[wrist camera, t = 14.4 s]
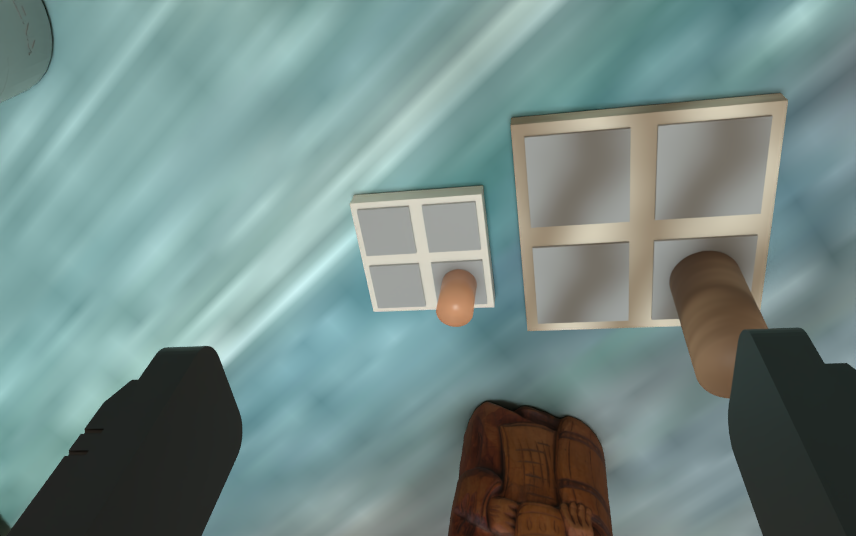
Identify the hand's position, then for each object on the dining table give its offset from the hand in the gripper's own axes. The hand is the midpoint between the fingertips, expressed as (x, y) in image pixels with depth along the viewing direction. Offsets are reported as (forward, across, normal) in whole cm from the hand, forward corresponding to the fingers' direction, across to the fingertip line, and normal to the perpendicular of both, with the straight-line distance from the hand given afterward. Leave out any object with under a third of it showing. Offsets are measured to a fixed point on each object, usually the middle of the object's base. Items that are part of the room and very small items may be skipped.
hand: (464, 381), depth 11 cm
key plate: (+29, +6, +14) cm, 33 cm away
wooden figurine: (+29, -1, +31) cm, 42 cm away
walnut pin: (+27, -11, +16) cm, 33 cm away
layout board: (+29, -7, +13) cm, 32 cm away
